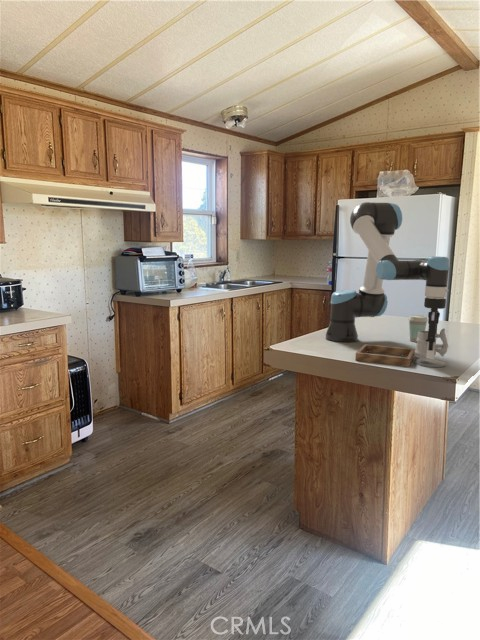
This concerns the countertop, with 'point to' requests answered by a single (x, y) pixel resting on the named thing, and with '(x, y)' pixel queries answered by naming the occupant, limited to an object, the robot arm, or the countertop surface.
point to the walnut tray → (384, 359)
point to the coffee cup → (416, 326)
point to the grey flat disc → (430, 363)
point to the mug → (422, 344)
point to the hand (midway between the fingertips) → (430, 356)
